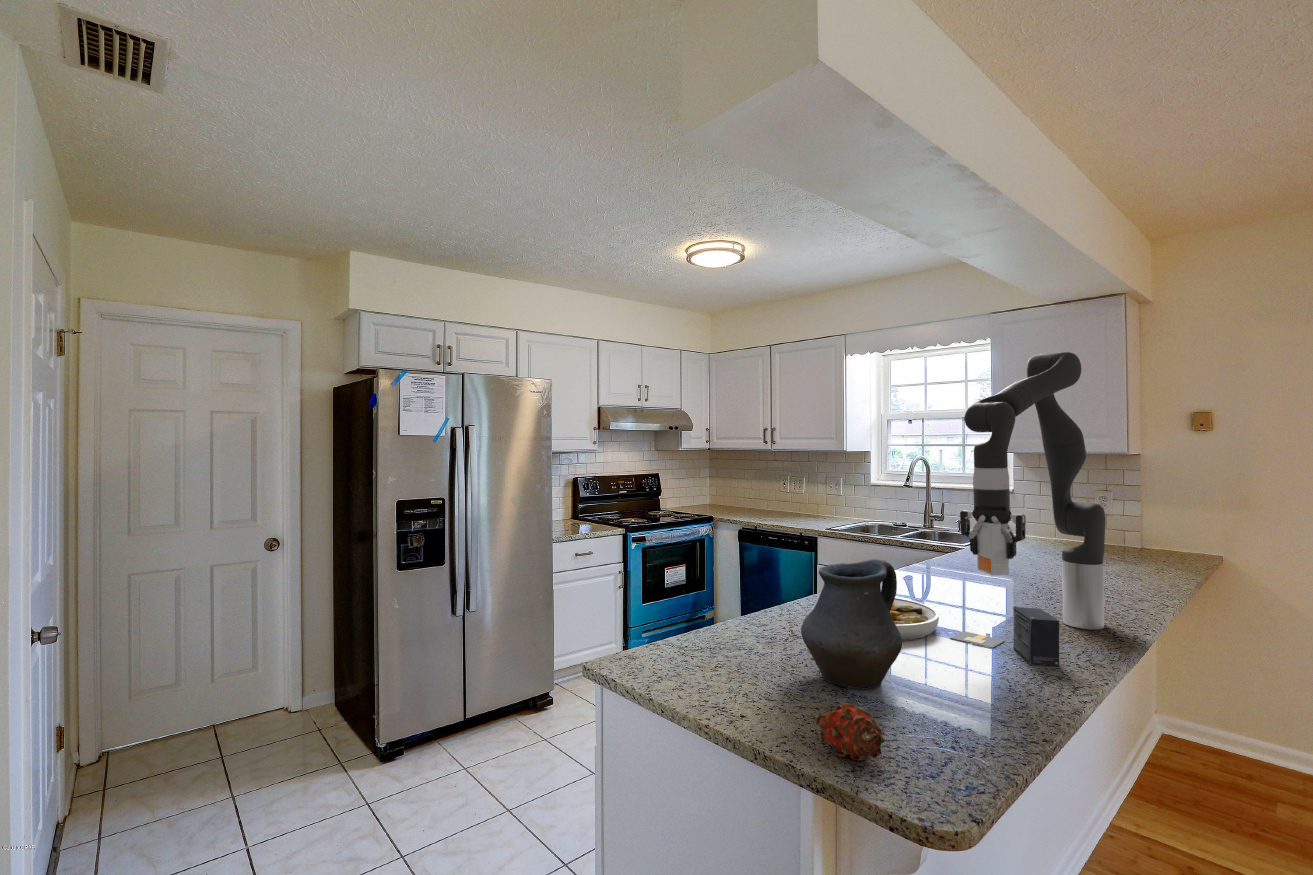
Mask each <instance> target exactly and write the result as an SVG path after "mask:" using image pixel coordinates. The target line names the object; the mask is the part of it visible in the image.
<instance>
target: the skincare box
mask: <svg viewBox="0 0 1313 875" xmlns="http://www.w3.org/2000/svg"><path fill="white" fill-rule="evenodd" d="M1002 525H1003V526H1004V527H1005V529H1008V525H1009V523H1008V524H1002ZM977 527H978V526H977ZM1007 543H1008V541H1007V540H1006V538H1005V537H1004V535H1002V534H1001V525H1000V524H994V523H986V522H984V523H983V524H982V526H981V528H980V530H979V532H978V533H977V555H976V556H977V570H978V571H980V572H984V573H986V574H989V575H990V576H994V577H995V576H1009V575H1010V566H1009V563H1010V562H1009V561H1010V559H1007Z"/></svg>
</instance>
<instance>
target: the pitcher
mask: <svg viewBox="0 0 1313 875" xmlns="http://www.w3.org/2000/svg"><path fill="white" fill-rule="evenodd" d="M818 575H819V576H820V578H821V580H822V581H823V587H822V589H821V592H820V594H819V597H818V599H817V602H816V604H815V605H814V607H813V609H812V610H811V611H810V612H809V613H808V614H807V616H806V617H805V618H804V620H803V621H802V625H801V631H800V634H801V638H802V640H803V642H804V645H805V646H806V648H807V649H808V651H809V654H811V657H812V658H813V662H815V665H816V667H817V668H818V670H819V672H820V674H821V676H822V678H823V679H824V680H825V681H826V682H828V683H830V684H833V685H837V686H839V687H842V688H851V689H852V688H854V689H866V690H867V689H873V688H877V687H878V686H881V685H882V682H883V681H884V679H885V677H886V676H887V673H888V672H889V671H890V668H891V667H892V665H893V664H894V663H895V662H896V660H897V658H898V656H899V655H900V653H901V651H902V648H903V646H904V645H903V644H904V643H903V641H904V640H903V641H902V637H901V634H900V632H899V630H898V628H897V627H896V625H895V623H894V621H893V619H892V617H891V615H890V610H891V607H892V604H893V602H894V599H895V598H896V596H897V589H898V588H897V587H898V583H897V582H898V580H897V573H896V570H895V568H894V566H893V565H892V563H890V562H887V561H886V560H883V559H876V558H874V559H873V558H872V559H866V560H863V561H858V562H851V563H836V564H835V563H834V564H828V565H825V566H821V567H819V569H818Z"/></svg>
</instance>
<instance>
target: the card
mask: <svg viewBox="0 0 1313 875" xmlns="http://www.w3.org/2000/svg"><path fill="white" fill-rule="evenodd" d="M950 640H953V641H958V642H961V641H962V643H966V644H970V643H973V644H972V645H974V644H977V645H976V646H978V645H981V646H980V647H983V646H987V647H990V648H989V649H991V648H993V647H995V646H996V647H998V646H1000V645H1001V644H1000V643H1002V644H1003V643H1005V642H1006V640H1005V639H1000V638H997V637H991V636H988V635H982V634H978V633H973V632H968V631H961V632H959V633H957V634H955V635H952V636H951V637H950ZM1004 641H1005V642H1004ZM999 644H1000V645H999ZM997 645H998V646H997ZM987 647H986V648H987ZM996 647H995V648H996ZM993 649H994V648H993Z"/></svg>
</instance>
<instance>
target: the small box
mask: <svg viewBox="0 0 1313 875" xmlns="http://www.w3.org/2000/svg"><path fill="white" fill-rule="evenodd" d="M1012 610H1013V648H1012V649H1013V651H1014V650H1015V651H1016V654H1018V656H1020V657H1021V658H1022V659H1023V660H1025V661H1026V662H1027V663H1028V664H1029V665H1035V666H1036V665H1038V666H1051V667H1060V620H1059V619H1057V618H1056V617H1054V616H1053V615H1051V614H1049V613H1048V612H1046V611H1045V610H1044V609H1042V608H1037V607H1036V608H1035V607H1025V606H1024V607H1023V606H1022V607H1021V606H1013V608H1012ZM1015 651H1014V652H1015Z"/></svg>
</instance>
